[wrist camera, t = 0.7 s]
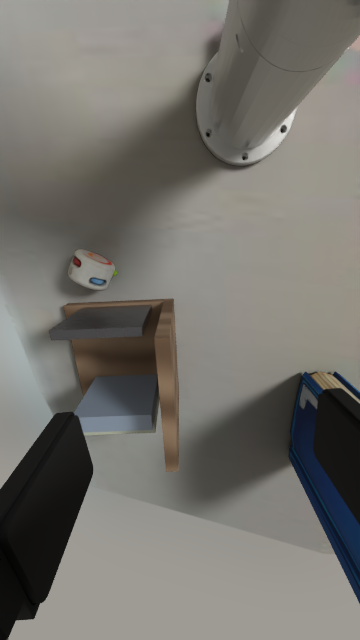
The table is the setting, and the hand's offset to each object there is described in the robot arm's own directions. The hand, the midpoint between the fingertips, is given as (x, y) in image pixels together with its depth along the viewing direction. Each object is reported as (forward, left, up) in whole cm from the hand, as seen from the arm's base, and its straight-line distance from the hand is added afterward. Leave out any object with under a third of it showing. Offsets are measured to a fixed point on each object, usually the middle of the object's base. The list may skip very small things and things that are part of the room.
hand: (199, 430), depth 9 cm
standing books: (+17, -11, -28) cm, 35 cm away
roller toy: (-4, -13, -30) cm, 33 cm away
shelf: (+11, -11, -30) cm, 33 cm away
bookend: (+3, -11, -28) cm, 30 cm away
